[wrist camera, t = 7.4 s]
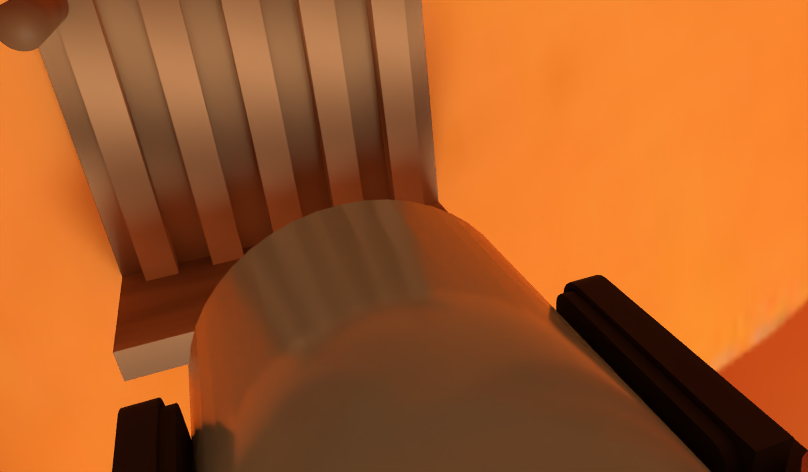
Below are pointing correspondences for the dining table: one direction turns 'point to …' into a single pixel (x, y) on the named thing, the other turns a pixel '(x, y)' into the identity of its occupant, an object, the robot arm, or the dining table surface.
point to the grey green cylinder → (404, 360)
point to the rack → (226, 132)
